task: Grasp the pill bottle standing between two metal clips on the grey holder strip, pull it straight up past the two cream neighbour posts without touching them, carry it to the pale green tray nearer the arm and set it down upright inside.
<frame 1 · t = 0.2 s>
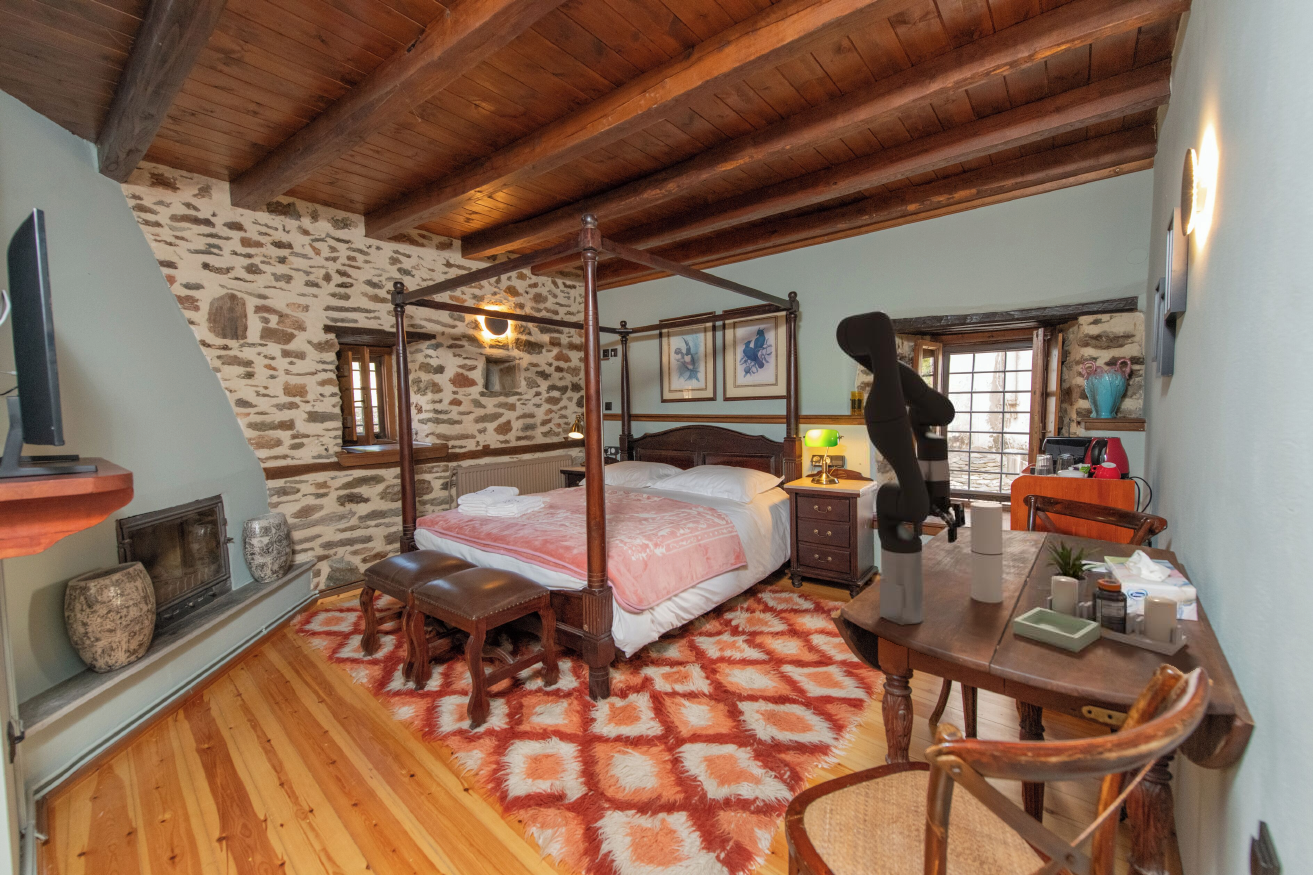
hand: (935, 539, 138), 17 cm above the table, tool pointing down, fingers open, 8 cm apart
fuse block: (1109, 630, 120), on the table
pill bottle: (1109, 631, 120), resting in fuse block
cylindrical container: (986, 598, 142), on the table
tray: (1056, 634, 119), on the table
house plant: (1063, 599, 139), on the table
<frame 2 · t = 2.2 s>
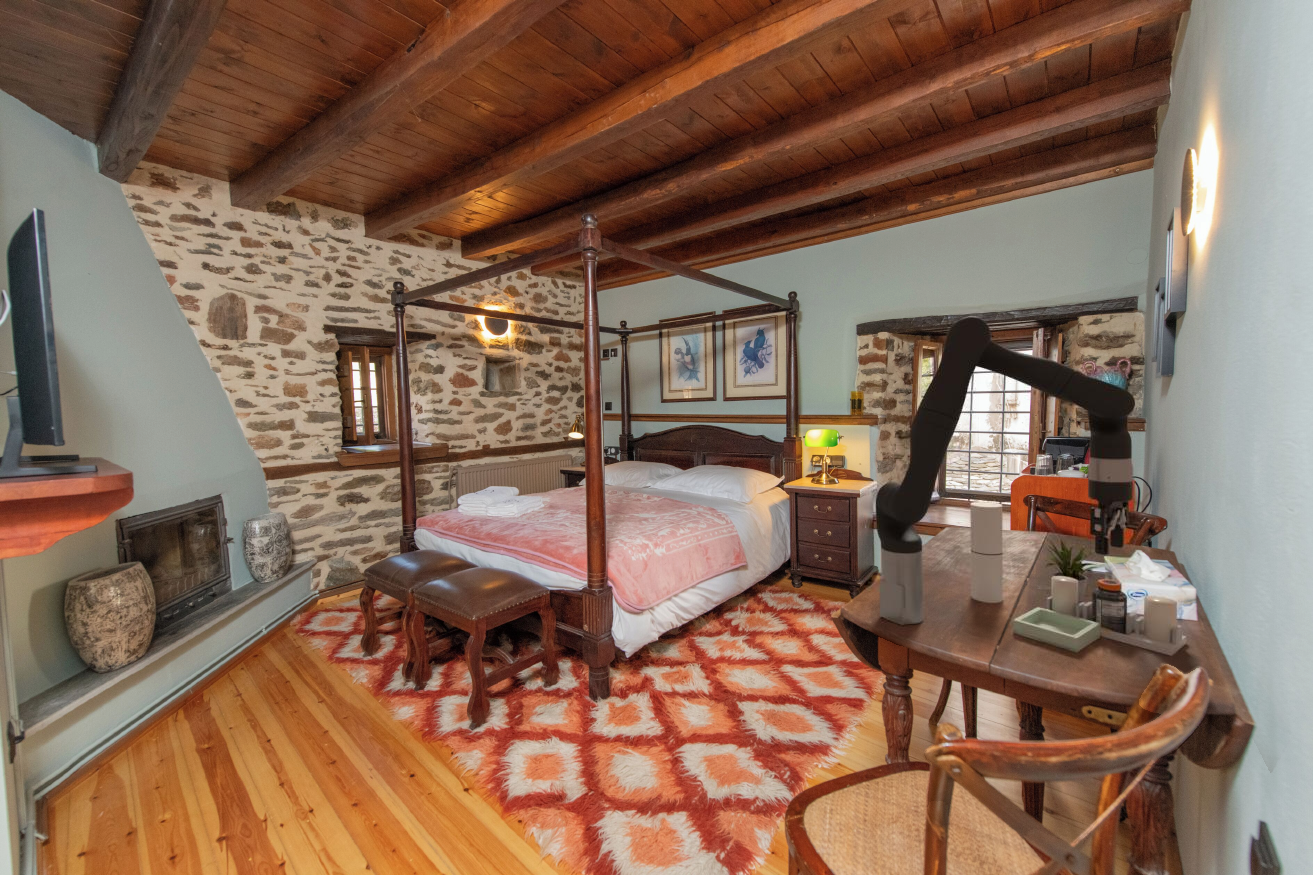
hand: (1109, 550, 119), 18 cm above the table, tool pointing down, fingers open, 8 cm apart
nothing on the table moved.
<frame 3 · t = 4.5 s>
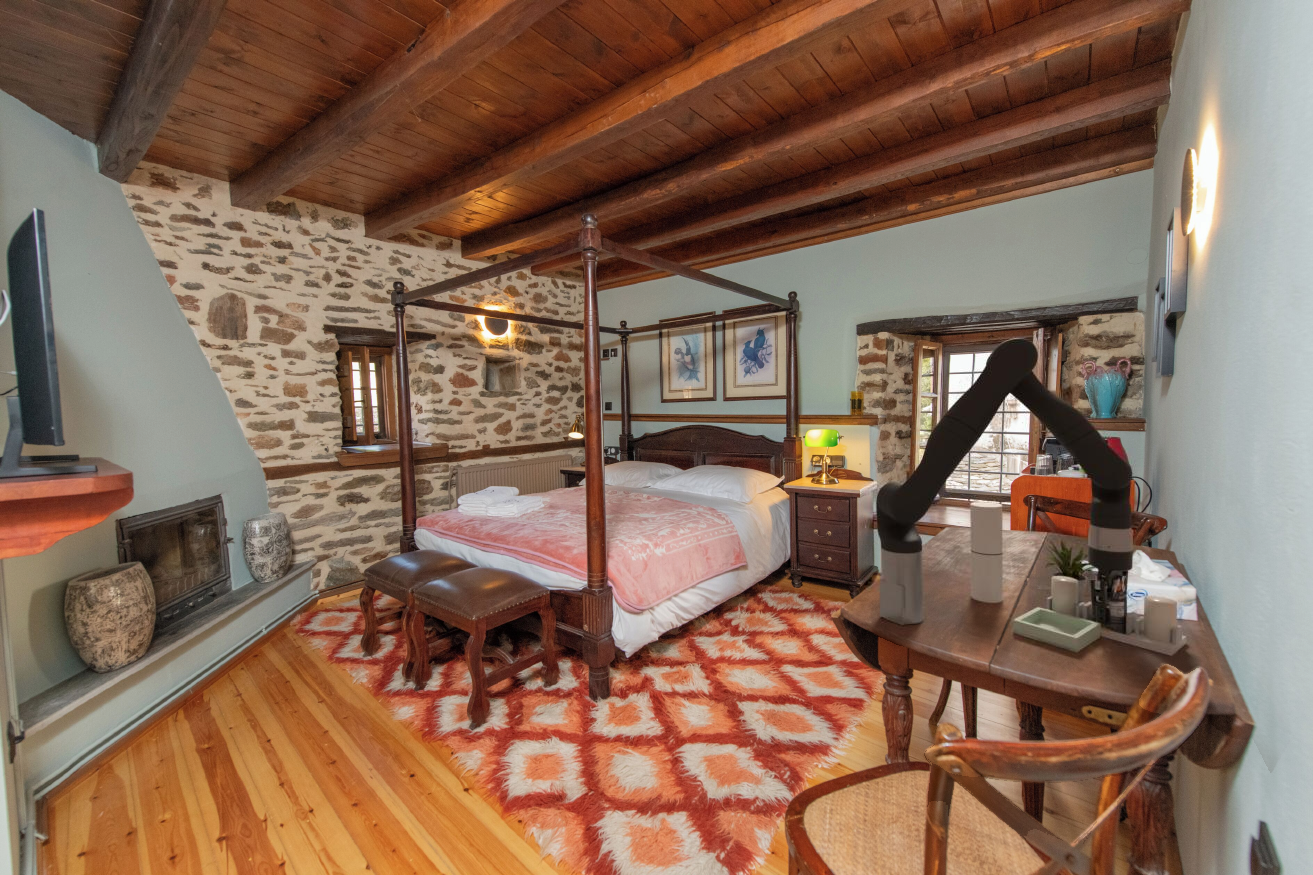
hand: (1109, 619, 120), 3 cm above the table, tool pointing down, fingers closed on pill bottle, 6 cm apart
pill bottle: (1109, 631, 120), resting in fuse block, touching gripper
everything else where it was.
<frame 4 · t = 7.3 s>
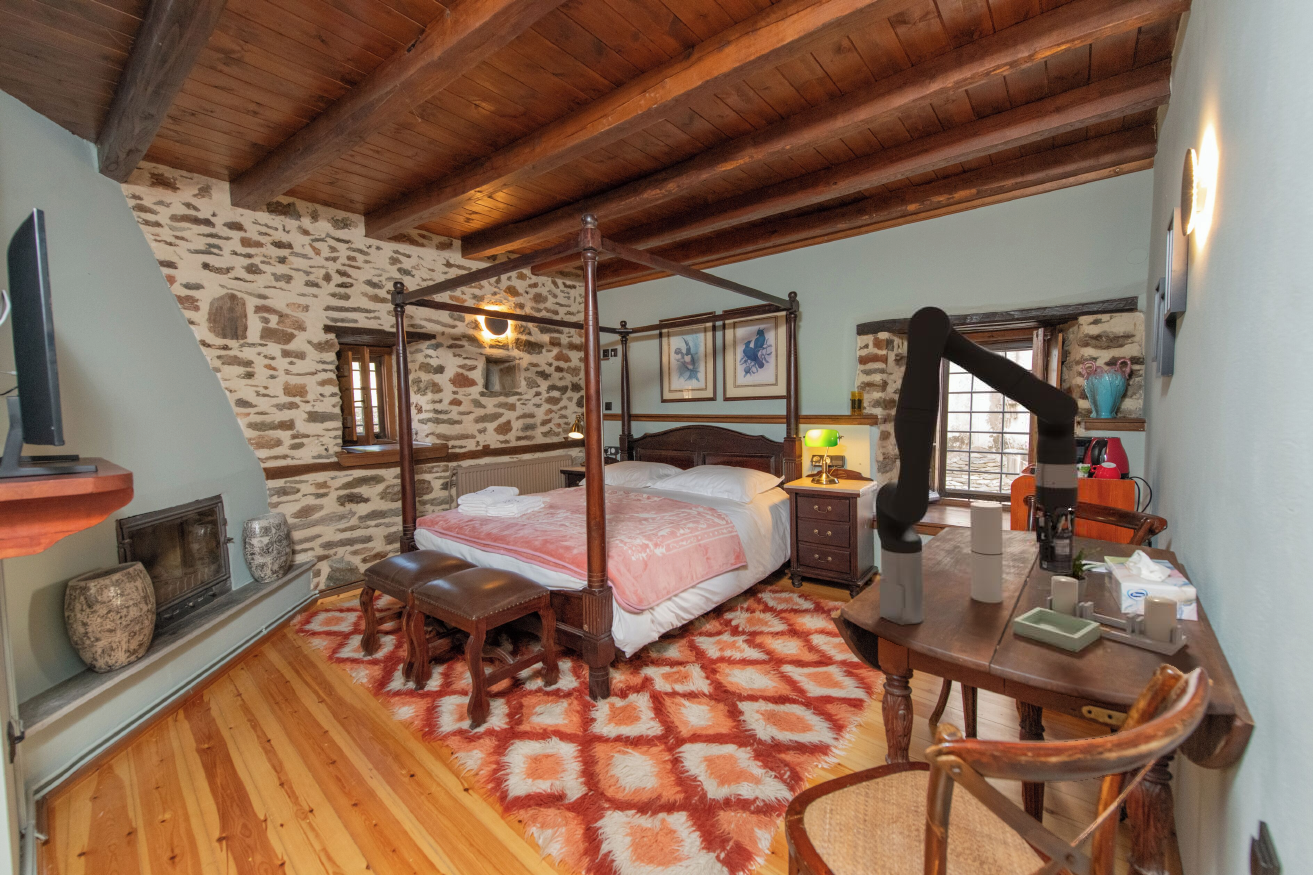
hand: (1055, 558, 118), 17 cm above the table, tool pointing down, fingers closed on pill bottle, 6 cm apart
pill bottle: (1055, 571, 118), point 14 cm above the table, touching gripper
everything else where it was.
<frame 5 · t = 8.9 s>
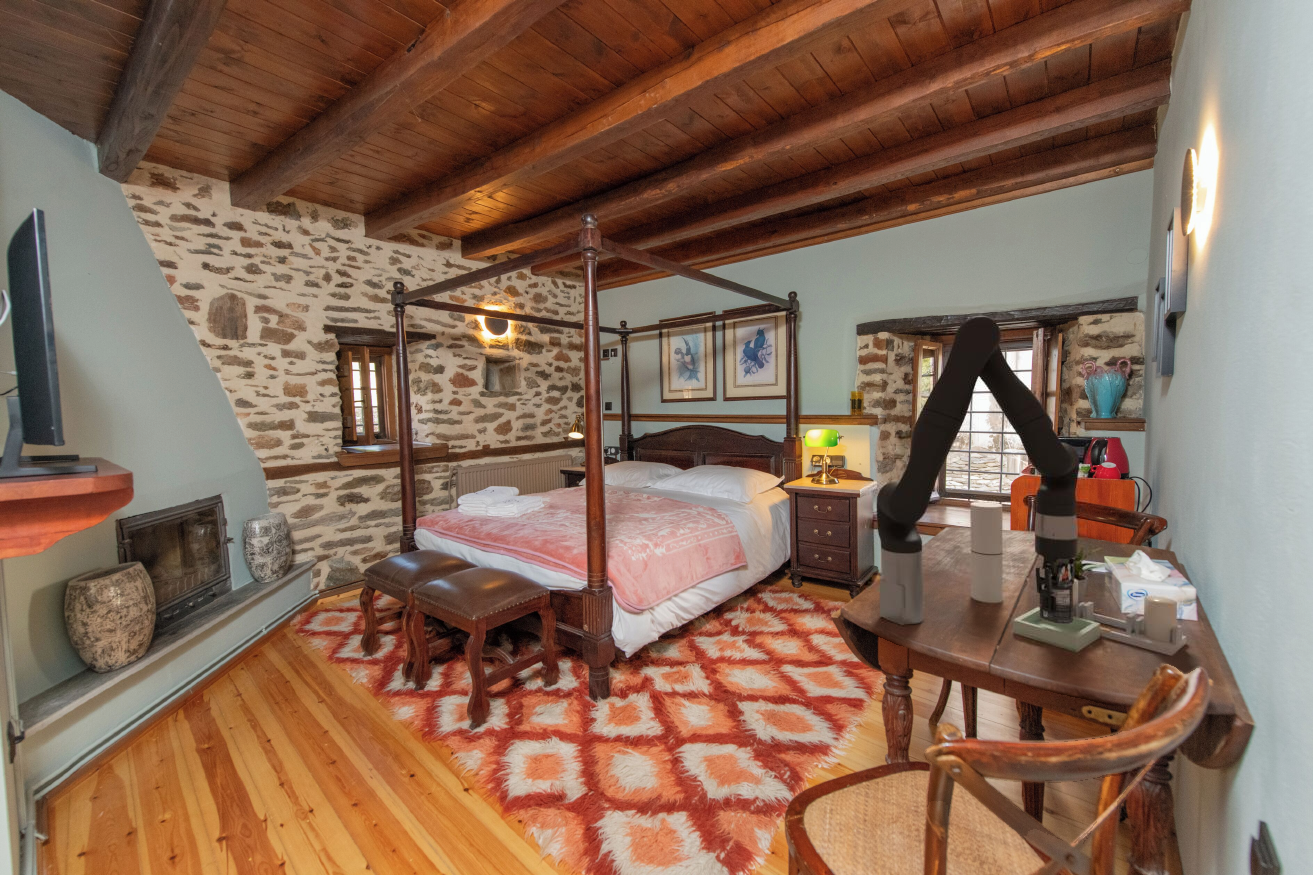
hand: (1056, 607, 119), 6 cm above the table, tool pointing down, fingers closed on pill bottle, 6 cm apart
pill bottle: (1056, 620, 119), point 3 cm above the table, touching gripper
everything else where it was.
when the fingers open (5 cm above the table, at t = 10.0 s): pill bottle drops 2 cm, resting on tray.
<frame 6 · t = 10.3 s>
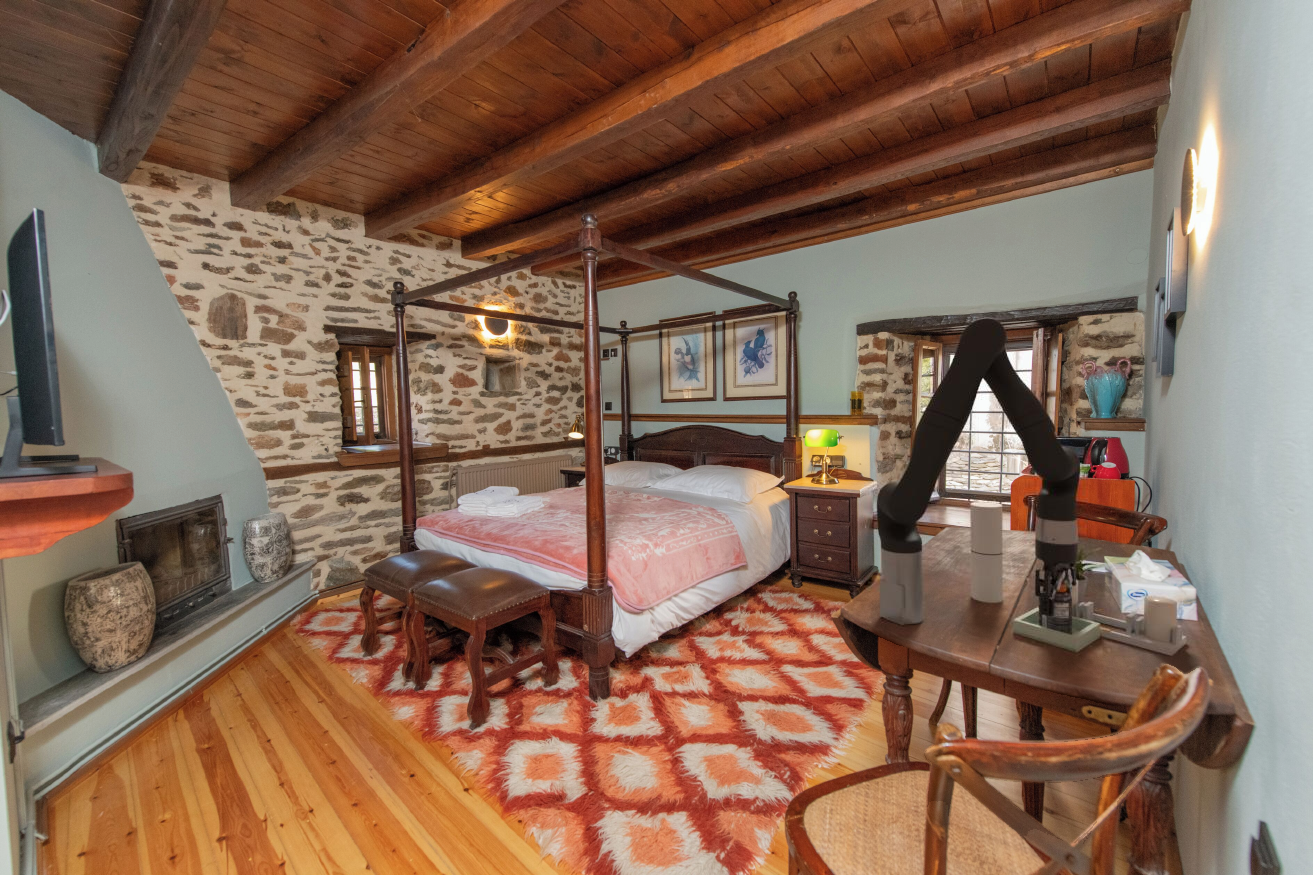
hand: (1056, 610, 119), 6 cm above the table, tool pointing down, fingers open, 8 cm apart
pill bottle: (1055, 633, 119), resting on tray
everything else where it was.
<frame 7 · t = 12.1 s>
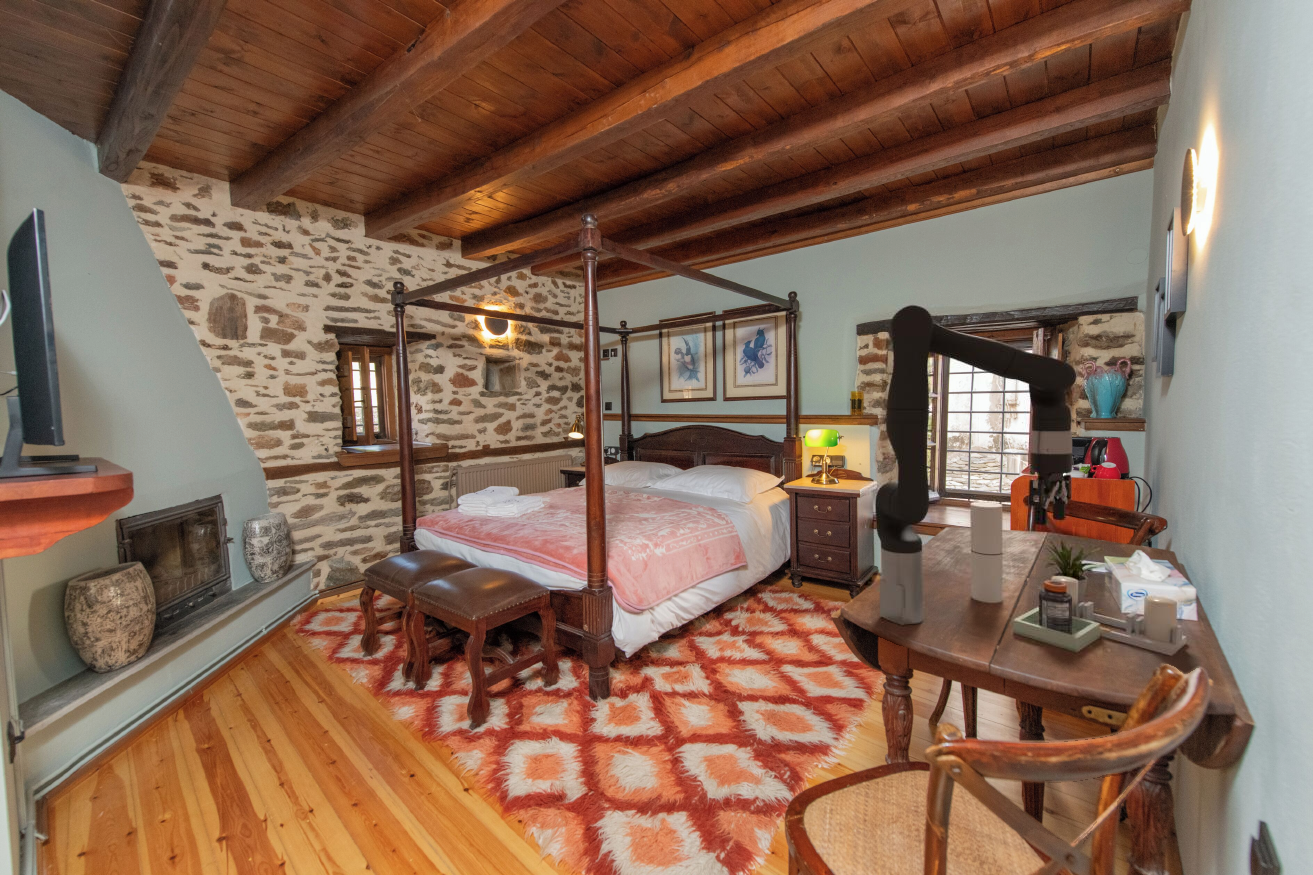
hand: (1050, 522, 121), 25 cm above the table, tool pointing down, fingers open, 8 cm apart
nothing on the table moved.
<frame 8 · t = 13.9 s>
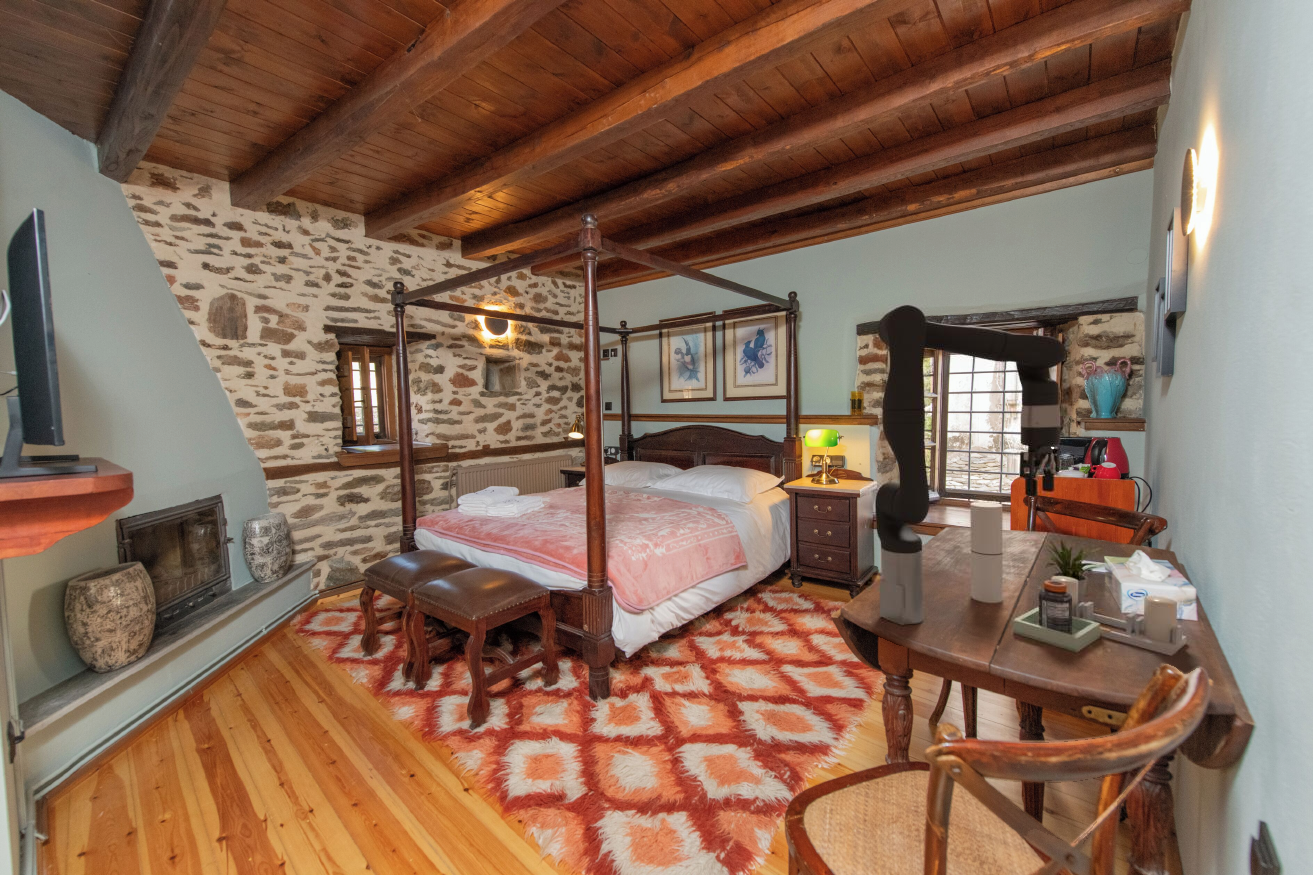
hand: (1040, 493, 126), 30 cm above the table, tool pointing down, fingers open, 8 cm apart
nothing on the table moved.
at the end: pill bottle inside the target area on the tray (0.3 cm from its centre), point 0.4 cm above the tray's base; pill bottle tilted 0°; the gripper is holding nothing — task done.
